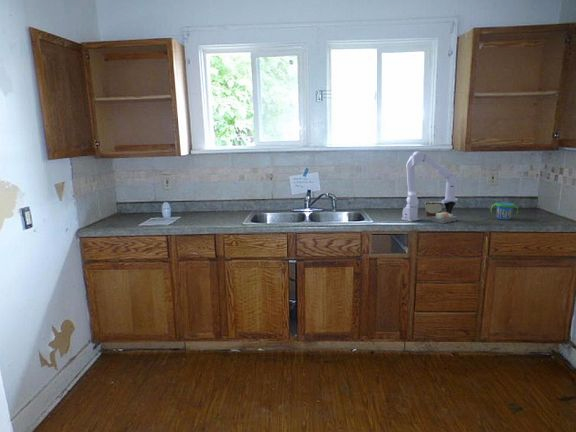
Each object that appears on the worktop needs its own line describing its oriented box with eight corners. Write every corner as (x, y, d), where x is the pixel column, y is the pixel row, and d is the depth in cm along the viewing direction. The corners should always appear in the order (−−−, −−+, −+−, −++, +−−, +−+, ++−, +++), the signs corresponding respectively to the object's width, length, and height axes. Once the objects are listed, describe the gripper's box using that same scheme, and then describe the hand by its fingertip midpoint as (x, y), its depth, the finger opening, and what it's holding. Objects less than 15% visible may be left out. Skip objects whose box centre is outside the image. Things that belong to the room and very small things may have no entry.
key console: (442, 223, 240) (443, 219, 239) (430, 221, 247) (430, 217, 247) (457, 220, 248) (457, 216, 247) (445, 218, 255) (445, 214, 254)
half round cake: (440, 214, 266) (441, 200, 264) (442, 216, 260) (443, 202, 258) (421, 214, 268) (422, 200, 266) (423, 216, 262) (424, 202, 260)
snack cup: (517, 218, 251) (518, 203, 249) (517, 221, 242) (519, 205, 240) (490, 216, 258) (491, 201, 256) (489, 219, 249) (490, 204, 247)
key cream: (449, 220, 247) (449, 215, 247) (444, 219, 250) (444, 214, 250) (452, 219, 249) (452, 214, 249) (447, 218, 252) (448, 213, 251)
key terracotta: (444, 218, 245) (445, 213, 244) (440, 217, 248) (440, 212, 247) (448, 218, 246) (448, 212, 246) (443, 217, 249) (443, 212, 249)
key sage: (440, 219, 242) (440, 214, 242) (435, 218, 245) (435, 213, 244) (443, 219, 244) (444, 213, 243) (439, 218, 247) (439, 212, 246)
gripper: (448, 194, 239) (447, 215, 242) (462, 192, 247) (461, 213, 249) (439, 192, 245) (437, 213, 248) (453, 191, 253) (451, 211, 255)
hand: (448, 213), depth 249 cm, fingers closed
